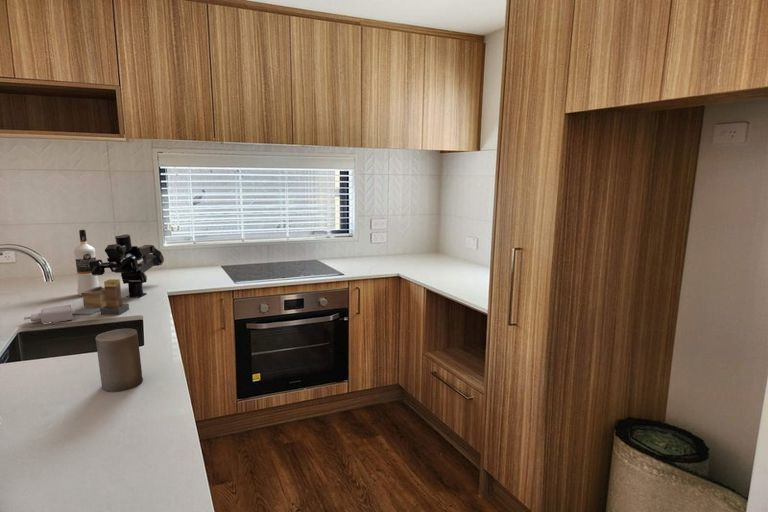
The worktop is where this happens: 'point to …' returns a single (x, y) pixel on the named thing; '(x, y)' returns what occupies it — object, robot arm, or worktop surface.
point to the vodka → (85, 265)
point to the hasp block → (114, 310)
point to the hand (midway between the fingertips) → (103, 272)
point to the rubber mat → (87, 311)
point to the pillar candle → (119, 359)
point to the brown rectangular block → (113, 293)
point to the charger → (53, 314)
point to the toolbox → (94, 298)
